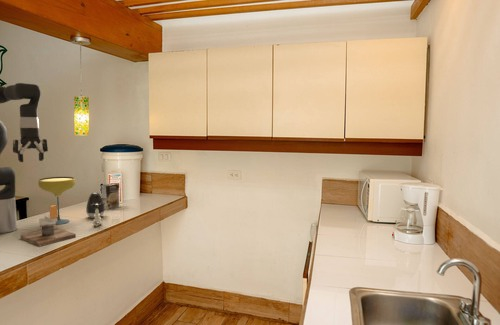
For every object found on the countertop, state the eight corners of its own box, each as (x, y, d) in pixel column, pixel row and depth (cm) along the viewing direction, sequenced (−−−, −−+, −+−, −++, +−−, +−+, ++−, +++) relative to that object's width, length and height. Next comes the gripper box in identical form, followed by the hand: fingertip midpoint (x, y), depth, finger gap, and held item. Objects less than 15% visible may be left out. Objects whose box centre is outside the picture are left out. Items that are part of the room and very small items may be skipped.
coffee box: (107, 210, 229) (106, 185, 227) (101, 208, 232) (100, 184, 231) (119, 207, 236) (118, 184, 234) (114, 206, 240) (113, 183, 238)
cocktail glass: (51, 217, 208) (49, 176, 205) (82, 218, 208) (80, 176, 206) (33, 226, 190) (30, 181, 187) (66, 227, 190) (64, 181, 188)
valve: (90, 226, 191) (89, 205, 190) (92, 223, 197) (91, 202, 196) (103, 226, 193) (102, 204, 192) (104, 222, 199) (103, 202, 198)
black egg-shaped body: (89, 220, 204) (88, 194, 203) (84, 216, 212) (83, 192, 210) (107, 217, 211) (106, 192, 209) (101, 214, 219) (100, 190, 217)
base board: (20, 238, 171) (19, 226, 170) (55, 230, 185) (55, 218, 184) (39, 246, 160) (38, 233, 159) (75, 236, 174) (75, 225, 173)
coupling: (47, 230, 164) (46, 207, 163) (37, 225, 171) (36, 203, 170) (62, 226, 169) (61, 205, 168) (51, 222, 176) (50, 201, 175)
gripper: (16, 127, 156) (18, 163, 157) (49, 127, 167) (51, 160, 169) (8, 126, 160) (11, 162, 161) (41, 127, 171) (43, 159, 173)
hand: (31, 161), depth 165 cm, fingers open, 8 cm apart
